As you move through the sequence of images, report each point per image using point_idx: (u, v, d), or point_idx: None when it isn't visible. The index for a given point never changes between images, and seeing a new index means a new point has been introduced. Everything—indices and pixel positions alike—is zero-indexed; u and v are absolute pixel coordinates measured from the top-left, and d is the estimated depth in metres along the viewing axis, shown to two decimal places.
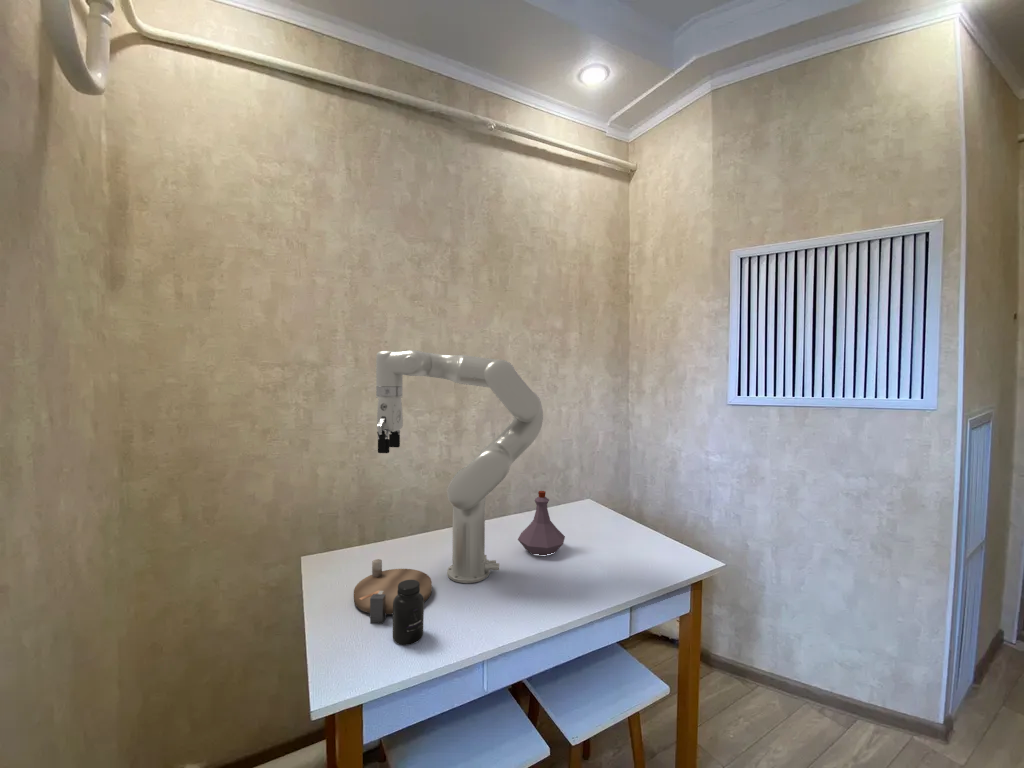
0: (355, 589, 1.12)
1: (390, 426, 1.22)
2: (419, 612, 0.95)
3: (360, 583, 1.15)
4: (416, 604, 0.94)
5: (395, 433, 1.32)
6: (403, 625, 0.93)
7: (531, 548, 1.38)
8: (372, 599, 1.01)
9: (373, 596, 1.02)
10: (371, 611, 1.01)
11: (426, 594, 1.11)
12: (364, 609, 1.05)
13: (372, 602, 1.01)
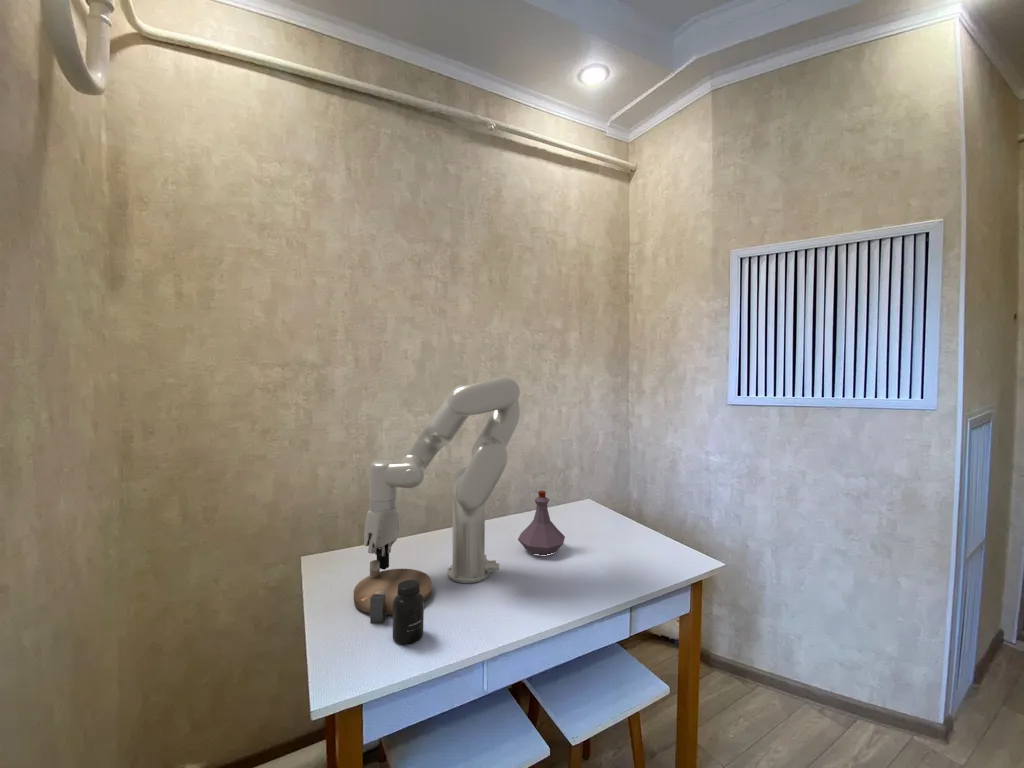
0: (355, 591, 1.11)
1: None
2: (419, 612, 0.95)
3: (359, 584, 1.14)
4: (416, 604, 0.94)
5: None
6: (403, 625, 0.93)
7: (531, 548, 1.38)
8: (372, 599, 1.01)
9: (373, 596, 1.02)
10: (371, 611, 1.01)
11: (427, 592, 1.11)
12: (367, 610, 1.05)
13: (372, 602, 1.01)
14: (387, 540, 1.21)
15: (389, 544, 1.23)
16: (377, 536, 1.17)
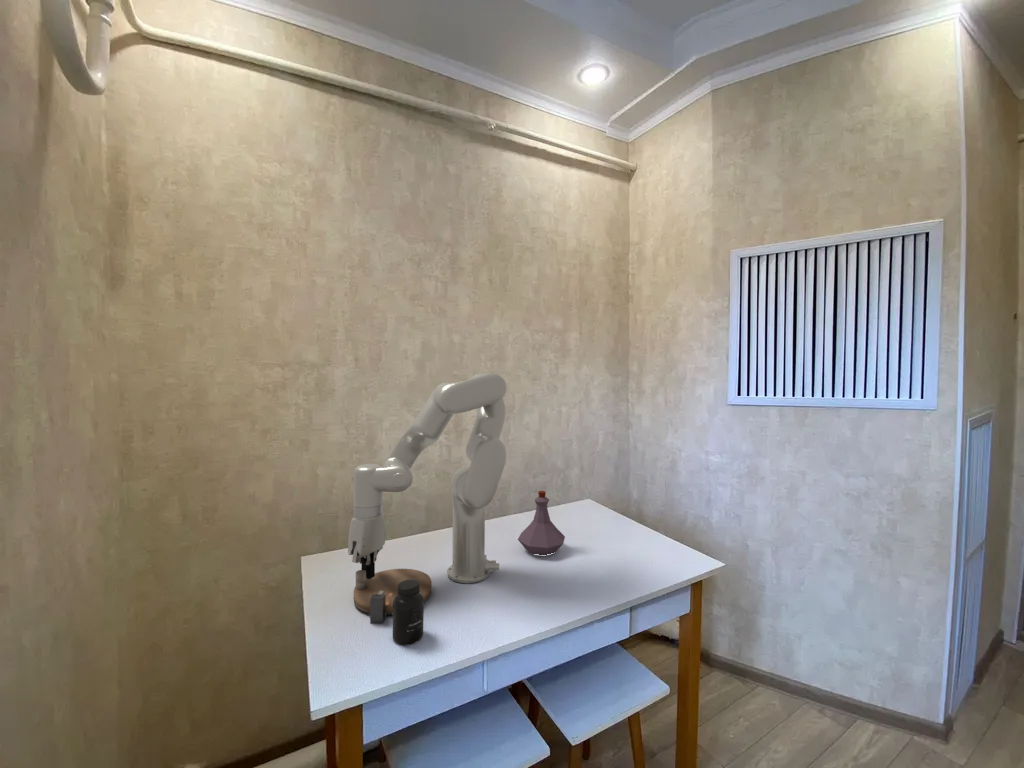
0: (365, 602, 1.06)
1: None
2: (419, 612, 0.95)
3: (359, 597, 1.08)
4: (416, 604, 0.94)
5: None
6: (403, 625, 0.93)
7: (531, 548, 1.38)
8: (372, 599, 1.01)
9: (373, 596, 1.02)
10: (371, 611, 1.01)
11: None
12: None
13: (372, 602, 1.01)
14: (372, 548, 1.15)
15: (375, 552, 1.17)
16: (362, 544, 1.11)
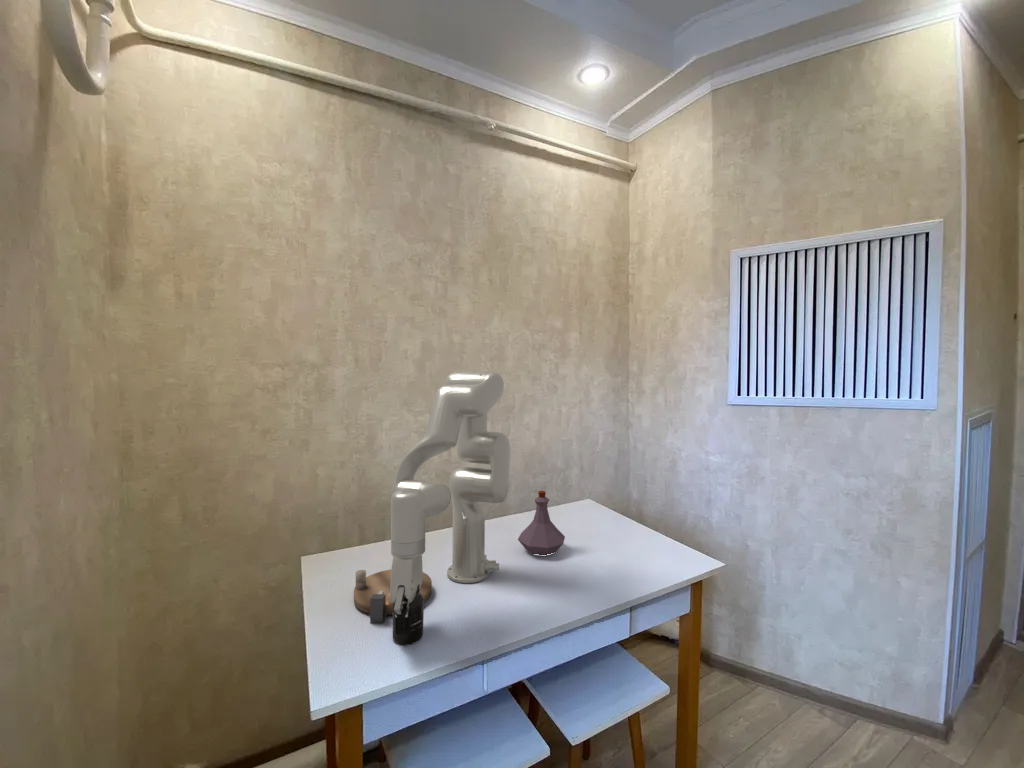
0: (365, 602, 1.06)
1: None
2: (419, 612, 0.95)
3: (359, 597, 1.08)
4: (416, 604, 0.94)
5: None
6: None
7: (531, 548, 1.38)
8: (372, 599, 1.01)
9: (373, 596, 1.02)
10: (371, 611, 1.01)
11: None
12: None
13: (372, 602, 1.01)
14: (416, 590, 0.96)
15: None
16: (411, 588, 0.92)
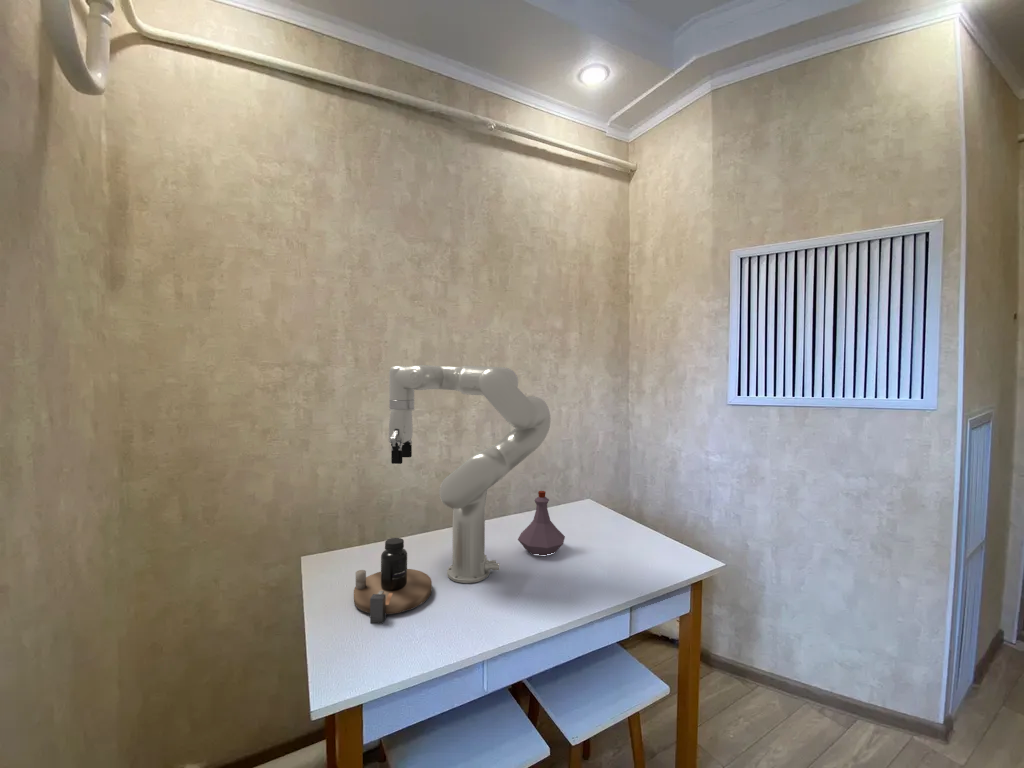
0: (365, 602, 1.06)
1: None
2: (403, 564, 1.12)
3: (359, 597, 1.08)
4: (400, 556, 1.12)
5: None
6: (389, 574, 1.11)
7: (531, 548, 1.38)
8: (372, 599, 1.01)
9: (373, 596, 1.02)
10: (371, 611, 1.01)
11: None
12: (396, 611, 1.05)
13: (372, 602, 1.01)
14: (408, 437, 1.32)
15: (409, 439, 1.37)
16: (403, 431, 1.29)
